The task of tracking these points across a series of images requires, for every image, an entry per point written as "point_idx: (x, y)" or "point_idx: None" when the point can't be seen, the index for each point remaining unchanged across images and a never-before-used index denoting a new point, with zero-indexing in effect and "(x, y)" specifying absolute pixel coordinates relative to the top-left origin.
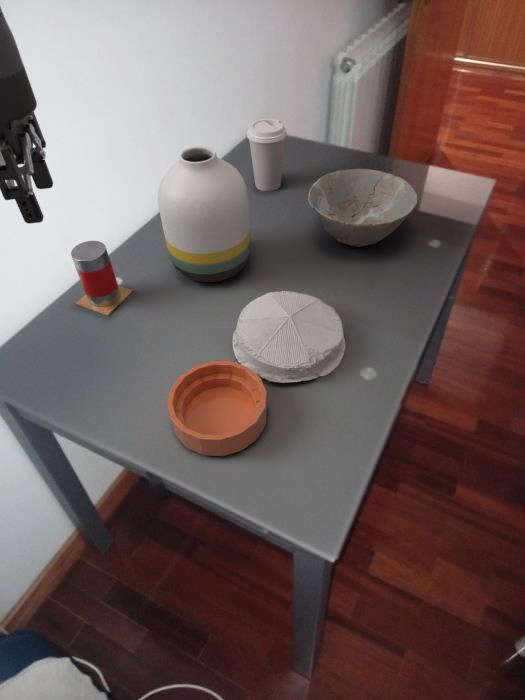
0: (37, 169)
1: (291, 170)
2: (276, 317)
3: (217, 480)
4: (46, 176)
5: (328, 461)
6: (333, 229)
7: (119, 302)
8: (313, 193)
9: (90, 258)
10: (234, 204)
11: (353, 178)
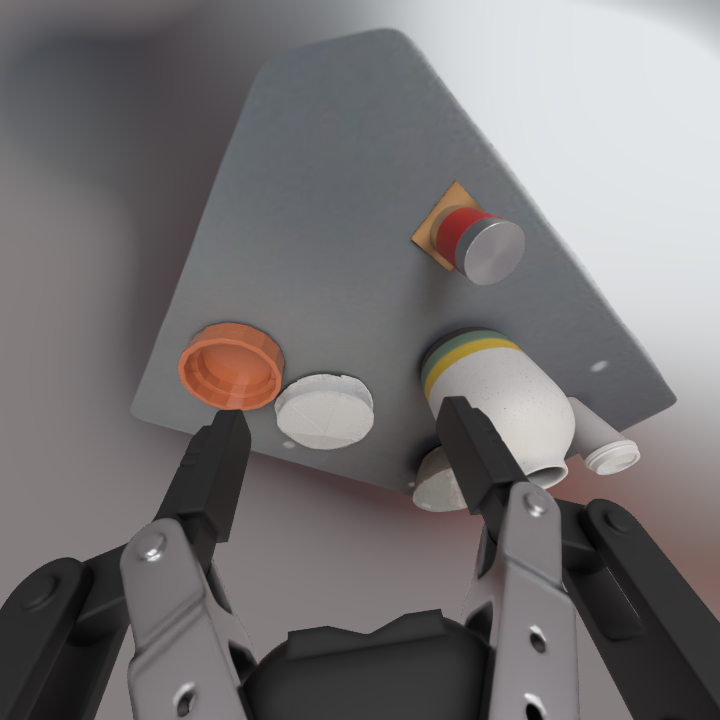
0: (468, 470)
1: None
2: (328, 425)
3: (168, 355)
4: (450, 456)
5: (204, 419)
6: (435, 462)
7: (431, 254)
8: None
9: (468, 262)
10: None
11: None
